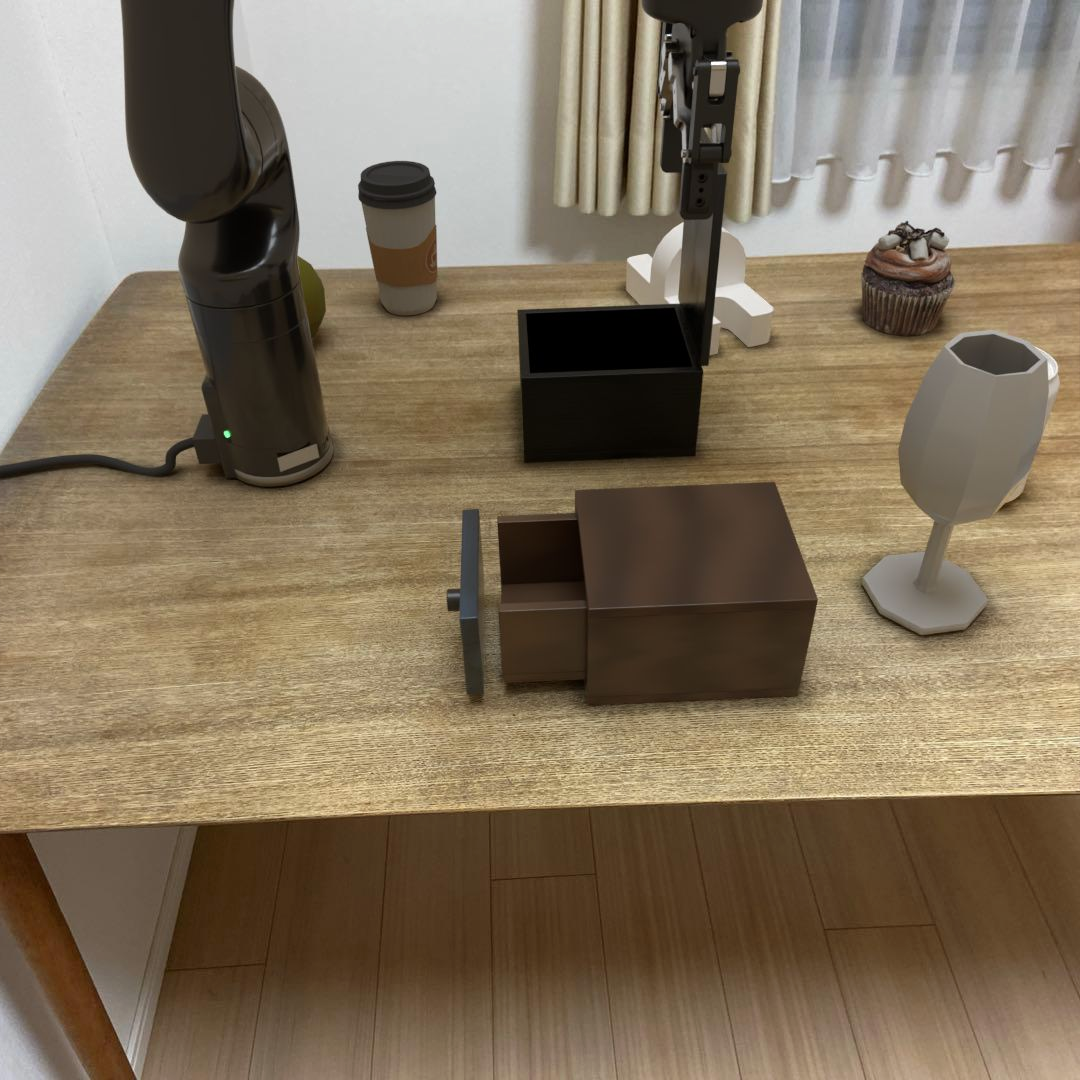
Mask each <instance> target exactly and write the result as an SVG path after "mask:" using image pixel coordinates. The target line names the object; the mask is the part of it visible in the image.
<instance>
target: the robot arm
mask: <svg viewBox="0 0 1080 1080" xmlns="http://www.w3.org/2000/svg"><path fill="white" fill-rule="evenodd" d="M119 2H120V12H121V27H122V45H123V46H122V47H123V48H122V51H123V52H122V54H123V77H124V78H123V81H124V83H123V84H124V85H123V86H124V118H125V121H124V122H125V137H126V146H127V151H128V156H129V159H130V162H131V163H130V164H131V165H132V169H133V171H134V173H135V175H136V178H137V179H138V182H139V184H140V185H141V187H142V188H143V190H144V191H145V192H146V194H147V195H148V196H149V198H150V199H151V200H152V201H153V202H154V203H155V205H156V206H158V207H159V208H160V209H162V210H163V211H164V212H165V213H166V214H168V215H170V216H171V217H173V218H175V219H177V220H179V221H182V222H183V223H185V227H184V234H183V239H182V243H181V246H180V250H179V254H178V260H177V266H178V272H179V278H180V281H181V284H182V285H181V286H182V289H183V293H184V295H185V300H186V303H187V308H188V311H189V315H190V319H191V322H192V326H193V329H194V333H195V338H196V341H197V345H198V348H199V352H200V356H201V360H202V363H203V367H204V372H205V375H204V378H203V380H202V382H201V393H202V396H203V401H204V404H205V407H206V411H207V413H204V414H201V416H200V418H199V421H198V424H197V426H196V429H195V430H194V431H195V432H194V434H193V436H192V437H189V438H185V439H183V440H180V441H178V442H175V444H173V445H172V446H171V447H170V448H169V449H168V450H167V451H166V454H165V459H164V461H165V463H164V464H162V465H160V466H157V467H143V466H139V465H137V464H134V463H130V462H129V461H128V462H127V461H125V460H123V459H119V458H116V457H111V456H108V455H103V454H92V453H87V454H86V453H83V454H82V453H81V454H66V455H65V454H64V455H58V456H50V457H43V458H38V459H37V458H36V459H32V460H24V461H20V462H14V463H9V464H1V465H0V477H2V476H8V475H13V474H19V473H23V472H30V471H36V470H42V469H47V468H53V467H62V466H71V465H72V466H73V465H89V464H90V465H101V466H105V467H110V468H113V469H116V470H120V471H122V472H126V473H131V474H134V475H140V476H146V477H156V478H157V477H164V476H166V475H168V474H171V473H172V472H173V471H174V469H176V466H177V456H178V455H179V454H181V453H182V452H184V451H186V450H189V449H192V448H194V451H195V455H196V458H197V462H198V464H199V465H211V464H213V465H216V464H221V466H222V470H223V474H224V478H225V479H238V480H240V481H241V482H244V483H246V484H249V485H252V486H258V487H282V486H288V485H292V484H296V483H299V482H302V481H305V480H307V479H309V478H311V477H313V476H315V475H316V474H318V473H320V472H321V471H322V470H324V469H325V467H326V466H327V465H328V464H329V463H330V461H331V459H332V458H333V454H334V446H333V441H332V435H331V433H330V428H329V424H328V419H327V415H326V414H327V413H326V408H325V402H324V398H323V392H322V386H321V381H320V375H319V371H318V365H317V360H316V354H315V350H314V349H315V348H314V343H313V339H312V338H311V332H310V327H309V321H308V316H307V311H306V305H305V300H304V295H303V289H302V284H301V278H300V272H299V266H298V256H299V245H300V235H301V231H300V230H301V229H300V219H299V218H300V217H299V210H298V202H297V193H296V187H295V180H294V174H293V173H294V172H293V166H292V159H291V152H290V147H289V141H288V137H287V132H286V127H285V125H284V121H283V119H282V116H281V113H280V111H279V108H278V106H277V104H276V102H275V100H274V99H273V97H272V95H271V94H270V92H269V91H268V89H267V88H266V87H265V85H263V83H262V82H260V81H259V79H258V78H256V77H255V76H254V75H253V74H251V73H250V72H249V71H248V70H246V69H244V68H242V67H240V66H238V65H236V58H235V45H234V44H235V43H234V9H235V0H120V1H119ZM763 4H764V0H641V7H642V9H643V11H644V13H645V14H647V15H648V16H649V17H650V18H652V19H654V20H656V21H660V22H662V30H661V32H662V33H661V43H660V57H659V68H658V69H659V70H658V82H657V86H656V94H657V97H658V99H659V100H661V102H660V103H659V112H660V115H661V117H663V118H662V128H661V129H662V130H661V140H660V141H661V142H660V156H659V158H660V159H659V166H660V169H661V171H662V172H664V173H666V174H675V173H676V174H680V173H681V177H680V188H679V189H680V190H679V199H678V201H679V202H678V213H679V215H680V217H681V218H682V220H683V221H684V220H704V219H709V218H710V217H711V216H712V214H713V209H714V199H715V190H716V181H717V172H718V163H722V164H729V163H730V161H731V157H732V153H733V151H732V150H733V149H732V143H733V133H734V126H735V125H734V123H735V116H736V115H735V114H736V106H737V105H736V104H737V93H738V84H739V75H741V66H740V61H739V59H738V58H734V54H733V51H732V50H727V49H728V48H727V46H728V45H727V43H728V42H727V41H728V37H727V33H728V29H730V27H732V26H733V25H735V24H736V23H740V24H742V23H746V22H749V21H751V20H753V19H754V18H756V17H757V16H758V15H759V14H760V13H761V11H762V9H763ZM701 128H704V129H710V132H711V143H700V138H701Z"/></svg>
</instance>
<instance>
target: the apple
mask: <svg viewBox="0 0 1080 1080" xmlns="http://www.w3.org/2000/svg"><path fill="white" fill-rule="evenodd" d="M298 266H299V272H300V278H301V284H302V289H303V295H304V300H305V305H306V311H307V316H308V321H309V327H310V332H311V338H312V340H314V339H315V338H316V336H317V334H318V332H319V331H320V327H321V324H322V322H323V320H324V317H325V315H326V312H327V306H326V294H325V287H324V284H323V282H322V278H320V276H319V274H318V273H317V271H316V270H315V268H314V267H313V265H312V264H311V263H310V262H308V261H307V260H306V259H304V258H303V257H301V256H299V255H298Z"/></svg>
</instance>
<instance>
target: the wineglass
mask: <svg viewBox="0 0 1080 1080" xmlns="http://www.w3.org/2000/svg"><path fill="white" fill-rule="evenodd" d="M1035 347H1036V346H1035V345H1033V344H1032V343H1031V342H1030V341H1029V340H1026V339H1024V338H1020V337H1017V336H1015V335H1011V334H1009V333H1006V332H1001V331H999V330H996V329H988V330H978V331H977V330H976V331H967V332H965V331H964V332H959V333H958V334H957V335H956V336H955V337H953V338H952V339H950V340H949V341H947V343H946V344H945V345H943V346H942V348H941V349H940V351H939V353H938V354H937V355H936V357H935V359H933V361H932V363H931V365H930V366H929V367H928V369H927V370H926V372H925V373H924V375H923V378H922V380H921V383H920V384H919V387H918V389H917V390H916V393H915V396H914V398H913V400H912V402H911V405H910V407H909V409H908V412H907V414H906V416H905V420H904V425H903V428H902V432H901V435H900V440H899V444H898V448H897V452H898V464H899V477H900V478H899V479H900V485H901V486H902V488H903V489H904V491H905V492H906V493H907V494H908V496H909V497H910V499H911V500H912V501H913V503H914V505H916V507H917V508H918V509H920V510H921V511H922V512H923V513H924V514H926V515H927V516H928V517H929V518H930V519H931V520H932V521H933V525H932V528H931V531H930V535H929V538H928V540H927V545H926V548H925V551H915V552H907V553H899V554H891V555H885V556H884V557H883V558H882V559H880V560H879V561H878V562H877V564H875V565H874V566H873V567H872V568H871V569H870V570H869V571H868V572H867V573H866V574H865V575H864V576H862V578H861V581H860V583H861V585H862V586H863V589H864V590H865V592H866V593H867V595H868V597H869V598H870V600H871V602H872V603H873V605H874V606H875V608H876V610H877V612H878V613H879V614H880V615H882V616H884V617H886V618H888V619H889V620H891V621H893V622H895V623H896V624H899V625H901V626H903V627H905V628H906V629H908V630H911V631H912V632H914V633H916V634H917V635H920V636H925V635H932V634H933V635H934V634H940V633H948V632H956V631H963V630H966V629H967V628H968V627H969V626H970V625H971V623H972V622H973V621H974V620H976V619H977V617H978V615H979V614H981V612H982V611H983V610H984V609H985V608H986V607H987V605H989V599H988V597H987V596H986V594H985V593H984V591H983V590H982V589H981V587H980V586H979V584H977V582H976V581H975V579H974V578H973V576H972V575H971V574H970V572H969V571H968V570H967V569H966V568H964V567H962V566H959V565H958V564H955V563H952V562H951V561H948V560H947V559H945V558H946V553H947V550H948V547H949V544H950V541H951V537H952V535H953V530H954V527H955V526H959V525H964V524H969V523H974V522H979V521H982V520H983V521H984V520H987V519H992V517H994V515H995V514H996V513H997V512H998V511H999V510H1000V509H1001V508H1002V507H1003V505H1005V504H1006V503H1005V502H1006V501H1007V500H1008V499H1009V498H1010V496H1011V495H1012V494H1013V492H1014V491H1015V489H1016V488H1017V487H1018V485H1019V484H1020V483H1021V481H1022V480H1023V478H1024V477H1025V476H1026V474H1027V473H1028V472H1029V470H1030V471H1031V469H1032V466H1033V464H1032V463H1034V461H1035V458H1036V455H1037V452H1038V450H1037V449H1039V447H1040V444H1041V441H1040V440H1042V438H1043V435H1042V433H1043V426H1044V420H1045V413H1046V407H1047V400H1048V394H1049V383H1048V362H1047V358H1046V357H1045V356H1044V355H1043V354H1042V353H1041V352H1040V351H1038V350H1037V349H1036V348H1035ZM1043 434H1044V433H1043ZM1041 437H1042V438H1041ZM1039 443H1040V444H1039ZM1038 446H1039V447H1038ZM1035 454H1036V455H1035ZM1034 457H1035V458H1034ZM1033 460H1034V461H1033ZM1029 473H1030V472H1029Z"/></svg>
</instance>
